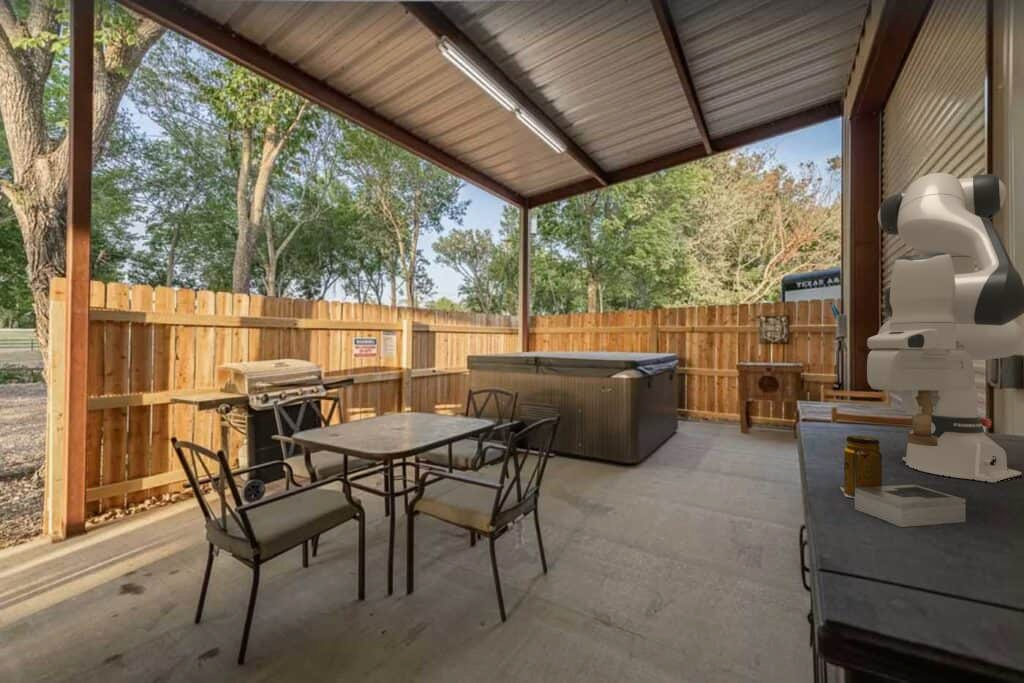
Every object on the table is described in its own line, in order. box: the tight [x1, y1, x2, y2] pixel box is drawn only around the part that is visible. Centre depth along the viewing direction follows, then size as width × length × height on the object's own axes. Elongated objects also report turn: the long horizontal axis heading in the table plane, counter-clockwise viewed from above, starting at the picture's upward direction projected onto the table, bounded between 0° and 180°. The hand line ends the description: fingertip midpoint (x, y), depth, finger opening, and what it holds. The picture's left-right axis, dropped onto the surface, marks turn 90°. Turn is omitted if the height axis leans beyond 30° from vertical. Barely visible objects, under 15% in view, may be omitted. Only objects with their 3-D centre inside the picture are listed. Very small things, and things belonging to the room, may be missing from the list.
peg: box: [906, 390, 938, 446], centre depth 78 cm, size 4×4×10 cm
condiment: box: [839, 435, 883, 499], centre depth 87 cm, size 7×8×12 cm
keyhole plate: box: [854, 483, 966, 528], centre depth 77 cm, size 14×8×4 cm, turn 101°
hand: (921, 414), depth 78 cm, fingers closed on peg, 2 cm apart
